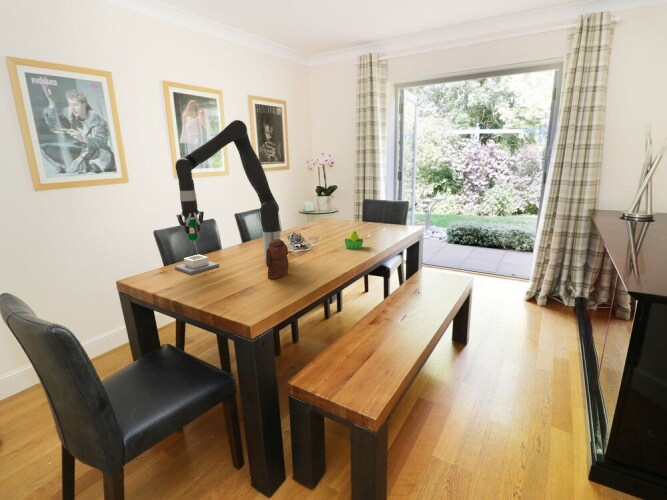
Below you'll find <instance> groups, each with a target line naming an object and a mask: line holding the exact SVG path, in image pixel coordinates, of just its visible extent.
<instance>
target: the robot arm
mask: <svg viewBox="0 0 667 500" xmlns="http://www.w3.org/2000/svg"><path fill="white" fill-rule="evenodd" d="M231 143H233V144H234V146H235V147H236V149H237V151H238V154H239V159H240V162H241V165H242V169H243V170H244V173H245V175H246V178H247V180H248V181H249V183H250V185H251V187H252V188H253V190H254V191H255V193H256V195H257V197H258V199H259V203H260V209H259V210H260V211H259V212H260V223H261V230H262V240H263V253H264V262H265V263H266V251H267V249H268V246H269V243H270V242H271V241H272V240H274V239H280V240H281V226H280V220H279V211H280V206H279V204H278V202H277V201H276V199H275V196H274V195H273V193H272V191H271V187H270V184H269V181H268V179H267V175H266V172H265V170H264V168H263V165H262V163H261V161H260V159H259V157H258V155H257V153H256V152H255V150H254V148H253V146H252V144H251V141H250V138H249V134H248V128H247V124H245V122H244V121H242V120H239V119H235V120H232V121H230V122H229V123H228V124H227V125H226V126H225V128H223V129H222V130H221V131H220V132H219V133H217V134H216V135H214V136H213V137H212V138H210V139H208V140H207V141H205V142H204V143H201V145H199V146H198V147H195V149H193V150H192V151H191V152H190V153H189V154H186V155H185V156H184V157H181V158H178V160H176V161H175V171H176V176H177V180H178V186H179V188H178V189H179V201H180V207H181V213H179V214H178V213H177V214H176V218H177V220H178V224H179V226H181V227H184V228H183V230H184V233H185V234H187V235H188V234H189V227H188V224H189V222H190V221H189V220H190V217H195V218H196V221H197V229H198V233H199V232H200V231H201V226H200V225H201V224H202V223H204V214H205V212H204V211H202V210H198V201H197V193H196V190H195V181H194V179H193V174H192V173H193V172H192V171H193V170H194V169H195V168H197V167H198V166H199V165H200V164H204V163H205V162H206V161H207V160H209V159H210V158H212V157H213V156H214V155H216V154H217V153H219V152H220V151H221V150H222V149H223V148H224V147H226V146H227V145H229V144H231ZM183 217H184V219H183ZM186 219H187V220H186Z"/></svg>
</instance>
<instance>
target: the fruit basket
mask: <svg viewBox="0 0 667 500" xmlns="http://www.w3.org/2000/svg"><path fill="white" fill-rule="evenodd" d="M363 243H364V238H359V235H358V233H357V231H355V230H354V231H351V232H350V234H349V238H345V239H344V244H345V248H346V250H348V249H349V250H362V246H363Z"/></svg>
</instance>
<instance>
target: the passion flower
mask: <svg viewBox="0 0 667 500" xmlns="http://www.w3.org/2000/svg"><path fill="white" fill-rule="evenodd" d="M304 237H305V236H304V235H302V234H301V233H300V232H295V231H293V232H292V234H291V235H288V236H287V239H288V240H289V241H290V243H289V244H290V246H294V244H301V243H303V241H304V242H306V240H307V239H306V238H304Z"/></svg>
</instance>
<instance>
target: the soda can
mask: <svg viewBox="0 0 667 500" xmlns="http://www.w3.org/2000/svg"><path fill="white" fill-rule="evenodd" d="M186 220H187V219H186ZM189 221H190V222H189V224H188V227H189V234H187V240H188V241H191V242H194V241H198V240H199V238H200V237H199V232H198V229H197V221H196V218H195V217H190V220H189Z"/></svg>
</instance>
